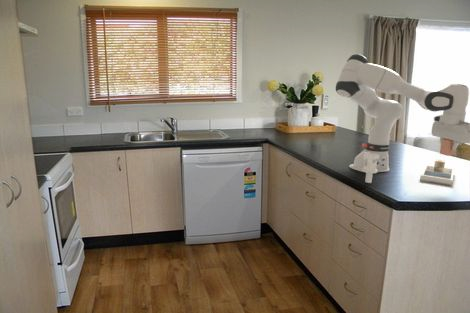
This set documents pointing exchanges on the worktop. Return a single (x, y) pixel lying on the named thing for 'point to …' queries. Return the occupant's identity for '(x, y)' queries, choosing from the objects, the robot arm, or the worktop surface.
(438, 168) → the block
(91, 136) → the worktop surface
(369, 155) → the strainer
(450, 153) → the terracotta block
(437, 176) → the divided tray
